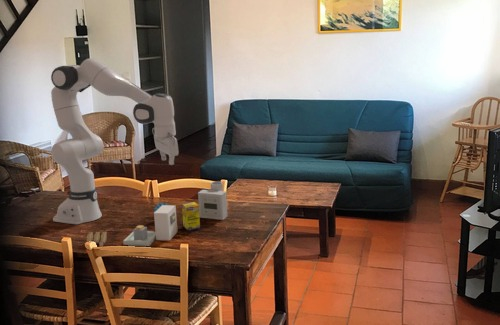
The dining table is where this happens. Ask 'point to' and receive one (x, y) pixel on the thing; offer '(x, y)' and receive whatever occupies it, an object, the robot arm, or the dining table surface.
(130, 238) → the tray
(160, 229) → the box
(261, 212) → the dining table surface
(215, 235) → the dining table surface
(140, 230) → the relay block
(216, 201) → the thermostat
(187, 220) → the supplement box
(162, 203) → the gear
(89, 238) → the ammunition
